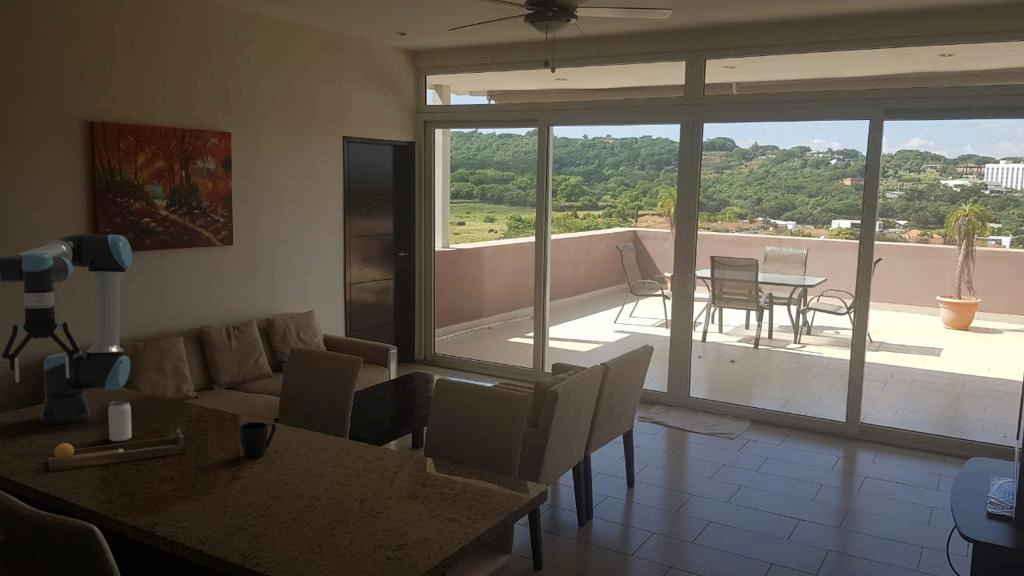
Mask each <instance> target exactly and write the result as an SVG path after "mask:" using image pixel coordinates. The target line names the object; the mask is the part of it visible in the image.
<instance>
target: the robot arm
mask: <svg viewBox="0 0 1024 576" xmlns="http://www.w3.org/2000/svg"><path fill="white" fill-rule="evenodd" d="M132 262H133V251H132V247H131V244H130V242H129V241H128V239H127V238H126V236H124V235H121V234H112V233H111V234H94V233H93V234H91V233H89V234H87V233H86V234H85V233H77V234H71V235H66V236H63V237H59V238H55V239H52V240H49V241H48V242H46V244H44V246H39V247H36V248H32V249H30V250H26V251H21V252H20V253H16V254H12V255H8V256H1V255H0V283H11V282H12V283H13V282H14V283H23V303H24V304H23V305H24V306H25V307H24V308H23V309H24V324H16V323H15V324H13V325H12V329H11V330H12V333H11V334H10V337H9V339H8V342H7V343H6V346H5V348H4V350H3V353H2V355H1V356H2V359H7V360H9V369H10V371H11V372H14V373H15V374H14V375H15V383H19V382H20V374H19V373H20V371H19V359H18V358H17V356H18V355H19V354H20V353H21V351H22V350H23V349H24V348H25V346H26V345H27V344H28V343H29V342H30V340H31V339H48V338H51V339H52V340H53V341H54V342H55V343H56V344H57V345H58V346H59V347H60V349H62V350H63V351H64V352H60V353H55V354H51V355H48V356H46V357H45V359H44V361H43V370H42V371H43V378H44V394H45V395H44V396H45V399H44V401H43V405H42V407H41V408H42V409H41V412H40V414H39V418H40V422H41V423H42V424H46V425H64V424H71V423H77V422H82V421H84V420H85V421H86V420H87V419H89V418H90V417H91V410H90V407H89V405H88V403H87V401H86V400H87V399H86V396H85V395H84V390H107V391H108V390H119V389H121V388H123V386H125V384H126V383H127V381H128V379H129V376H130V373H131V371H130V370H131V359H130V357H129V356H127V355H125V349H123V347H122V346H120V336H121V335H120V329H121V327H120V325H121V323H120V322H121V321H120V320H121V278H122V277H123V276H124V275H126V269H129V268H131V266H132ZM74 267H75V268H87V271H88V274H89V275H90V276H91V277H92V311H91V312H92V315H91V316H92V318H91V319H92V320H91V321H92V322H91V325H92V326H91V346H90V348H89V349H87V350H86V355H84V354H83V352H82V351H81V350H80V348H79V346H78V344H77V343H76V340H75V339H74V337H73V335H72V334H71V332H70V330H69V327H68V322H67V321H63V322H57V321H56V311H55V306H54V305H55V289H54V284H56V283H61V282H63V281H65V280H68V279H69V278H70V277H72V275H73V272H74ZM57 328H59V329H60V330H61V331H63V333H64V335H65V336H66V339H67V340H68V343H69V344H70V346H71V347H72V349H71V348H70V347H69V346H67V344H66V343H65V342H63V340H62V339H61V338H60V337H59V336H58V335H57V334H56V333H55V331H56V329H57ZM22 329H23V330H24V331H25V332H26V333H27V334H26V335H25V337H24V338H23V339H22V340H21V342H20V343H19V344H18V345H17V346H16V348H15V349H14V350H13V352H12V353H10V351H11V349H12V347H13V344H14V342H15V340H16V338H17V336H18V333H21V331H22Z"/></svg>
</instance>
